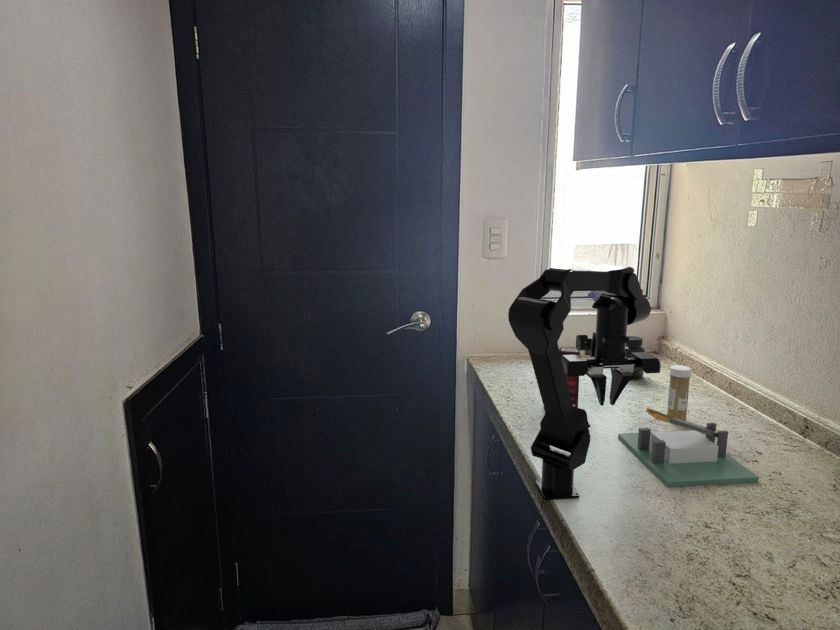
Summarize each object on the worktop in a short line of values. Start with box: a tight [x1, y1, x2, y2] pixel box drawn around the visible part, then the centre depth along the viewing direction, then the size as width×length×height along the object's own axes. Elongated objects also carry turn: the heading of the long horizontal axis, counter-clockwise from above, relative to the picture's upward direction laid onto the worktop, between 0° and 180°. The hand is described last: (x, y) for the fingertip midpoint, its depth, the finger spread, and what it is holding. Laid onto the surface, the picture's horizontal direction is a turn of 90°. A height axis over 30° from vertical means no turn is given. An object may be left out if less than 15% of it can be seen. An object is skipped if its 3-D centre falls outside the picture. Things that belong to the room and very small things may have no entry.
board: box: [617, 422, 760, 488], centre depth 118 cm, size 22×18×6 cm
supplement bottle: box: [625, 335, 646, 381], centre depth 169 cm, size 7×7×12 cm
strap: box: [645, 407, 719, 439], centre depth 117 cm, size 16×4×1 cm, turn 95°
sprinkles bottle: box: [666, 364, 692, 421], centre depth 137 cm, size 5×5×14 cm
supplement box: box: [543, 346, 581, 411], centre depth 145 cm, size 9×5×16 cm, turn 74°
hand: (606, 404), depth 115 cm, fingers closed
